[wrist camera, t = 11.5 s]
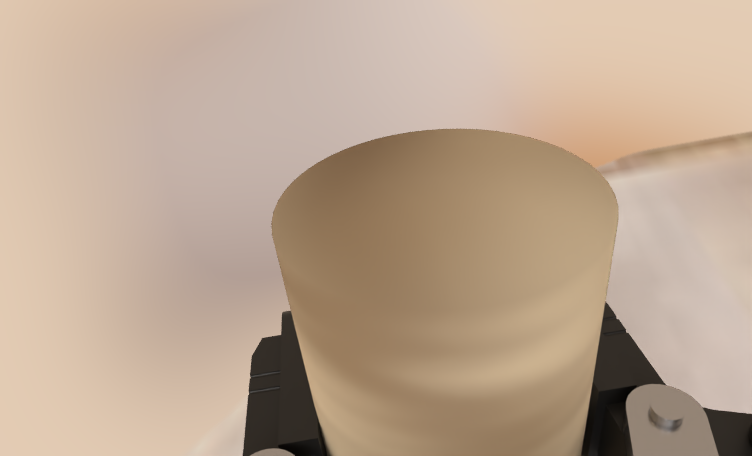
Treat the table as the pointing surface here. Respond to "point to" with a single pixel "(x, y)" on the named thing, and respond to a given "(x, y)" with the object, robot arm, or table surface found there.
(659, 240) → the table surface
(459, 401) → the maple pillar
